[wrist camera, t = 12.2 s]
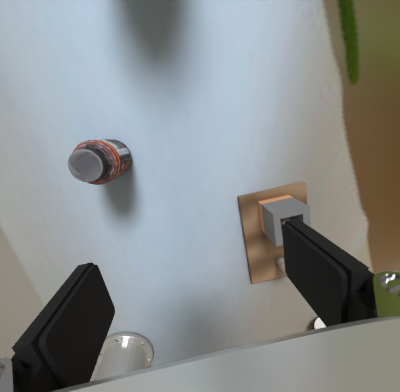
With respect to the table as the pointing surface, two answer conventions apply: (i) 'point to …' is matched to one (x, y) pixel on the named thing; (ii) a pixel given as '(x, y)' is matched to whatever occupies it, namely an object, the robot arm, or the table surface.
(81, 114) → the table surface
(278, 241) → the sleeve
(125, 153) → the supplement bottle
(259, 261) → the pin board
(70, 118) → the table surface
